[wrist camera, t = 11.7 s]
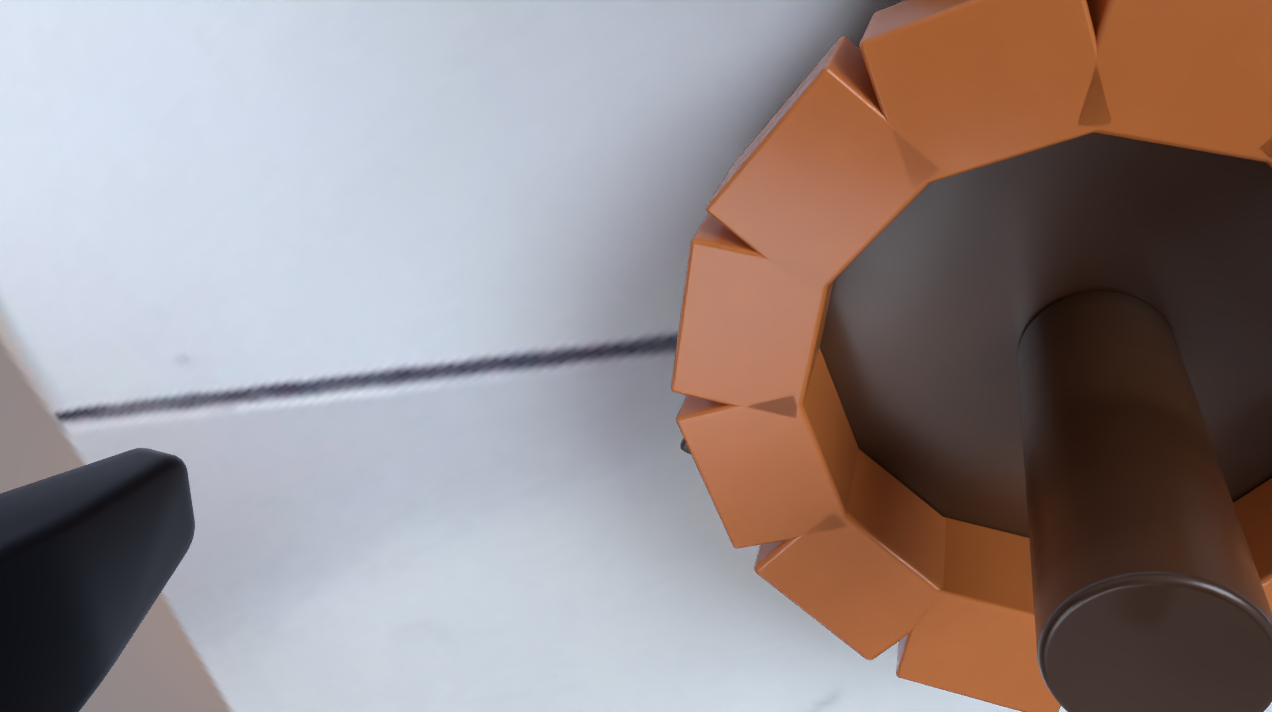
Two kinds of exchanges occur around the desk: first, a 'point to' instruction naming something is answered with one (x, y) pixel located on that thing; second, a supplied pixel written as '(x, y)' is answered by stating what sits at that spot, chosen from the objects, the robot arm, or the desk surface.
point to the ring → (848, 222)
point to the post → (1086, 400)
